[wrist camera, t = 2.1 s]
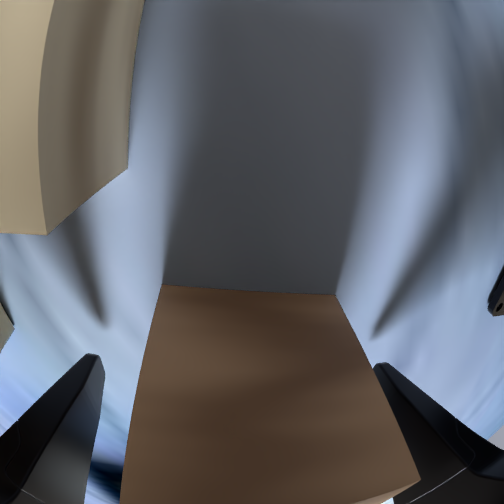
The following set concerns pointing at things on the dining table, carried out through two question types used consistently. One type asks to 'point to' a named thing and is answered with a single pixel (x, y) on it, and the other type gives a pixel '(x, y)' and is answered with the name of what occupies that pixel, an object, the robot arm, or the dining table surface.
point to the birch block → (62, 105)
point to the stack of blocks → (4, 328)
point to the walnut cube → (259, 406)
